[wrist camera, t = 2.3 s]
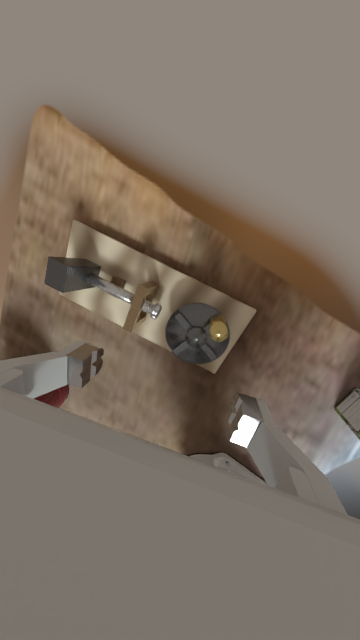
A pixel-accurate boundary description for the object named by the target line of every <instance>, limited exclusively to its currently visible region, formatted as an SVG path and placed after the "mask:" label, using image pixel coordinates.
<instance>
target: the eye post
mask: <svg viewBox="0 0 360 640" xmlns="http://www.w3.org/2000/svg"><path fill="white" fill-rule="evenodd" d="M159 285H160V284H158V283H156V282H154V281H150V282H146V283H142V284H138V287H137V290H136V293H135V295H134V298H133V301H132V304H131V306H130V309H129V312H128V315H127V318H126V320H125V323H124V326H123V329H125V330H127V331H129V332H132V331H133V330H134V329H135V328H137V327H138V326H139V325H140V324H142V323H143V322H144V321H145V319H146V317H147V314H148V313H146V312H144V311H142V307H143V304H144V302H145V300H147V301H149V302H151V303H152V302H153V300H154V297H155V295H156V292H157V290H158V287H159Z"/></svg>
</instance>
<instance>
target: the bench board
mask: <svg viewBox="0 0 360 640" xmlns="http://www.w3.org/2000/svg"><path fill="white" fill-rule="evenodd" d="M66 258H81V259H87V260H89V261H91V262H93V263H95V264H97V265H99V266H101V269H100V273H99V277H101V278H103V279H105V280H107V281H109V282H111V283H113V284H115V285H117V286H119V287H121V288H123V289H125V290H127V291H129V292H131V293H133V294H135V293H136V290H137V287H138V284H142V283H146V282H150V281H154V282H156V283H158V284H160V285H159V287H158V290H157V292H156V295H155V297H154V300H153V302H152V303H153V304H156V303H159V304H161V306H162V309H161V312H160V314H159V316H158V318H157V319H152V318H151V316H150V314H147V317H146V319H145V321H144V322H143V323H142V324H140V325H139V326H138V327H137V328H135V329H134V330H133V331H132V332H134V333H136V334H138V335H140V336H142V337H144V338H146V339H148V340H150V341H152V342H153V343H155V344H157V345H159V346H161V347H163V348H165V349H167V350H169V351H171V349H170V348H169V346H168V344H167V341H166V336H165V329H166V325H167V322H168V320H169V318H170V317H171V315H172V314H173V313H174V312H175V311H176V310H177V309H178V308H180V307H182V306H184V305H186V304H190V303H204V304H208V305H210V306H212V307H214V308H216V309H217V310H218V311H220V312H221V313H222V315H223V316H224V317H225V319H226V321H227V323H228V326H229V330H230V340H229V344H228V347H227V349H226V350H225V352H224V353H223V354H222V355H221V356H220V357H219V358H218V359H216V360H214V361H212V362H209V363H205V364H196V365H198V366H200V367H202V368H204V369H206V370H208V371H210V372H212V373H214V374H215V373H216V371H217V370H218V368H219V367H220V365H221V364H222V362H223V361H224V359H225V358H226V356H227V355H228V353H229V352H230V350H231V349H232V347H233V346H234V344H235V343H236V341H237V340H238V338H239V337H240V335H241V334H242V332H243V331H244V329H245V328H246V326H247V325H248V323H249V322H250V320H251V319H252V317H253V316H254V314H255V313H256V311H257V310H256V309H254V308H252V307H250V306H248V305H246V304H244V303H242V302H240V301H238V300H236V299H234V298H232V297H230V296H228V295H226V294H224V293H222V292H220V291H218V290H216V289H214V288H212V287H210V286H208V285H206V284H204V283H202V282H200V281H198V280H196V279H194V278H192V277H190V276H188V275H186V274H184V273H182V272H180V271H178V270H176V269H174V268H172V267H170V266H168V265H166V264H164V263H162V262H160V261H158V260H156V259H154V258H152V257H150V256H148V255H146V254H144V253H142V252H140V251H138V250H136V249H134V248H132V247H130V246H128V245H126V244H124V243H122V242H120V241H118V240H116V239H114V238H112V237H109V236H107V235H105V234H103V233H101V232H99V231H97V230H95V229H93V228H91V227H89V226H87V225H85V224H83V223H81V222H79V221H76V220H73V222H72V228H71V233H70V239H69V244H68V250H67V255H66ZM59 294H60V295H62V296H64V297H66V298H68V299H70V300H72V301H73V302H75V303H77V304H79V305H81V306H83V307H85V308H87V309H89V310H91V311H93V312H95V313H97V314H99V315H101V316H103V317H105V318H107V319H109V320H111V321H112V322H114V323H116V324H118V325H120V326H122V327H123V326H124V323H125V320H126V318H127V315H128V312H129V309H130V306H131V304H129V303H127V302H125V301H123V300H121V299H119V298H117V297H115V296H113V295H111V294H109V293H107V292H105V291H103V290H101V289H99V288H97V287H94V288H88V289H83V290H77V291H72V292H66V293H62V292H60V293H59ZM171 352H172V351H171Z"/></svg>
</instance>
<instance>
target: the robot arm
mask: <svg viewBox="0 0 360 640" xmlns="http://www.w3.org/2000/svg"><path fill="white" fill-rule="evenodd" d="M103 353H104V350H103V348H101V347H98V346H95V345H92V344H89V343H86V342H83V341H77V342H75V343H73V344H71V345H69V346H67V347H66V348H64V349H62V350H60V351H58V352H49V353H43V354H37V355H31V356H25V357H19V358H13V359H7V360H1V361H0V640H360V520H359V519H356V518H353V517H350V516H348V515H347V513H346V511H345V509H344V508H343V506H342V504H341V502H340V500H339V498H338V496H337V495H336V493H335V491H334V489H333V487H332V485H331V484H330V482H329V480H328V478H327V477H326V476H325V475H324V474H323V473H322V472H321V471H320V470H319V469H318V468H317V467H316V466H315V465H314V464H313V463H312V462H311V461H310V460H309V459H308V458H307V456H306V455H305V454H304V453H303V452H302V451H301V450H300V449H299V448H298V447H297V446H296V445H295V444H294V443H293V442H292V441H291V440H290V439H289V438H288V437H287V436H286V435H285V434H284V432H283V431H282V430H281V429H280V428H279V427H276V426H275V424H274V421H273V419H272V416H271V414H270V411H269V409H268V406H267V404H266V402H265V401H264V400H262V399H258V398H254V397H251V396H248V395H244V394H241V393H238V392H236V393H235V395H234V397H233V398H234V402H232V403H231V404H230V406H229V409H228V422H229V423H230V427H229V436H230V441H232V442H234V443H237V444H239V445H242V446H245V447H247V450H248V452H249V453H250V455H251V457H252V459H253V460H254V462H255V464H256V466H257V467H258V469H259V471H260V472H261V474H262V476H263V478H264V479H265V481H266V482H264V481H263V480H261V479H260V478H259V477H257V476H256V475H255V474H253V473H252V472H251V471H249V470H248V469H246V468H245V467H244V466H242V465H241V464H240V463H238V462H237V461H235V460H234V459H233V458H231V457H230V456H229V455H227V454H226V453H217V454H213V455H207V454H197V455H192V456H186V455H183V454H181V453H178V452H175V451H173V450H170V449H167V448H165V447H162V446H159V445H157V444H154V443H151V442H148V441H146V440H143V439H140V438H138V437H135V436H132V435H130V434H127V433H124V432H121V431H119V430H116V429H113V428H111V427H108V426H105V425H103V424H100V423H97V422H94V421H92V420H89V419H86V418H84V417H81V416H78V415H76V414H73V413H70V412H67V411H65V410H62V409H59V408H57V407H54V406H51V405H49V404H46V403H43V402H40V401H38V400H35V399H33V398H36V397H38V396H41V395H43V394H46V393H48V392H50V391H53V390H55V389H58V388H60V387H63V386H65V385H67V384H69V385H73V386H76V387H79V388H83V387H84V386H85V385H86V384H87V383H88V382H89V381H90V377H93V376H95V375H96V374H97V373H98V372H99V371H100V369H101V367H102V363H103V360H102V358H101V356H102V355H103Z"/></svg>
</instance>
